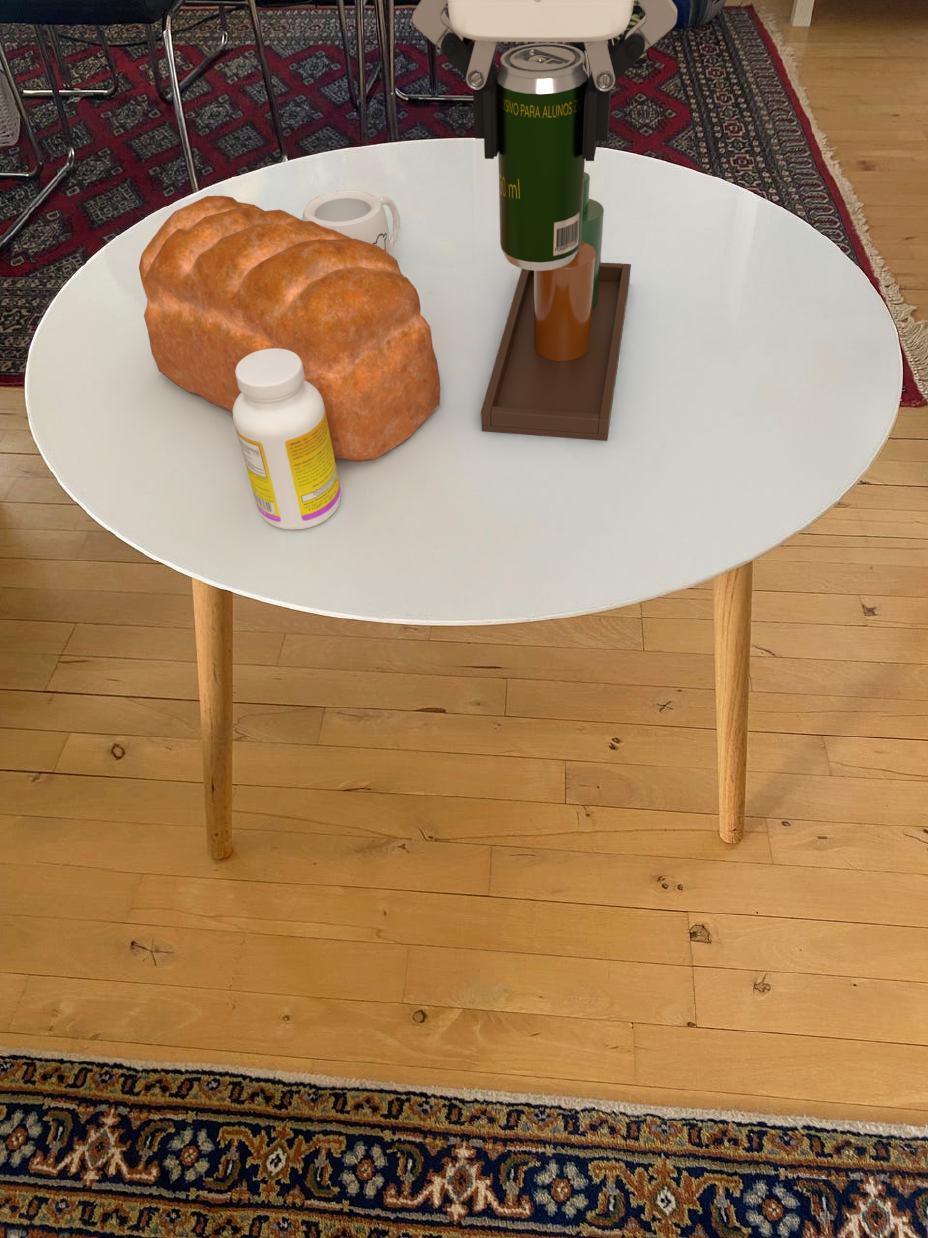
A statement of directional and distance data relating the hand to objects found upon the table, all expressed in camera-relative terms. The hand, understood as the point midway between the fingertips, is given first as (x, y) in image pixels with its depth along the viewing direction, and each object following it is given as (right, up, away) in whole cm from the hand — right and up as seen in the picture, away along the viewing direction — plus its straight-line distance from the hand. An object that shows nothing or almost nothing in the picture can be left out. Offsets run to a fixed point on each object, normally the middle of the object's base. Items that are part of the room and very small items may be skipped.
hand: (541, 147), depth 61 cm
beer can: (0, -5, +5) cm, 7 cm away
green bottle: (+6, +2, +35) cm, 35 cm away
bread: (-20, -9, +28) cm, 35 cm away
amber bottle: (+4, -4, +30) cm, 30 cm away
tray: (+4, -4, +30) cm, 31 cm away
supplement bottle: (-18, -20, +17) cm, 32 cm away
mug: (-15, +7, +41) cm, 45 cm away
